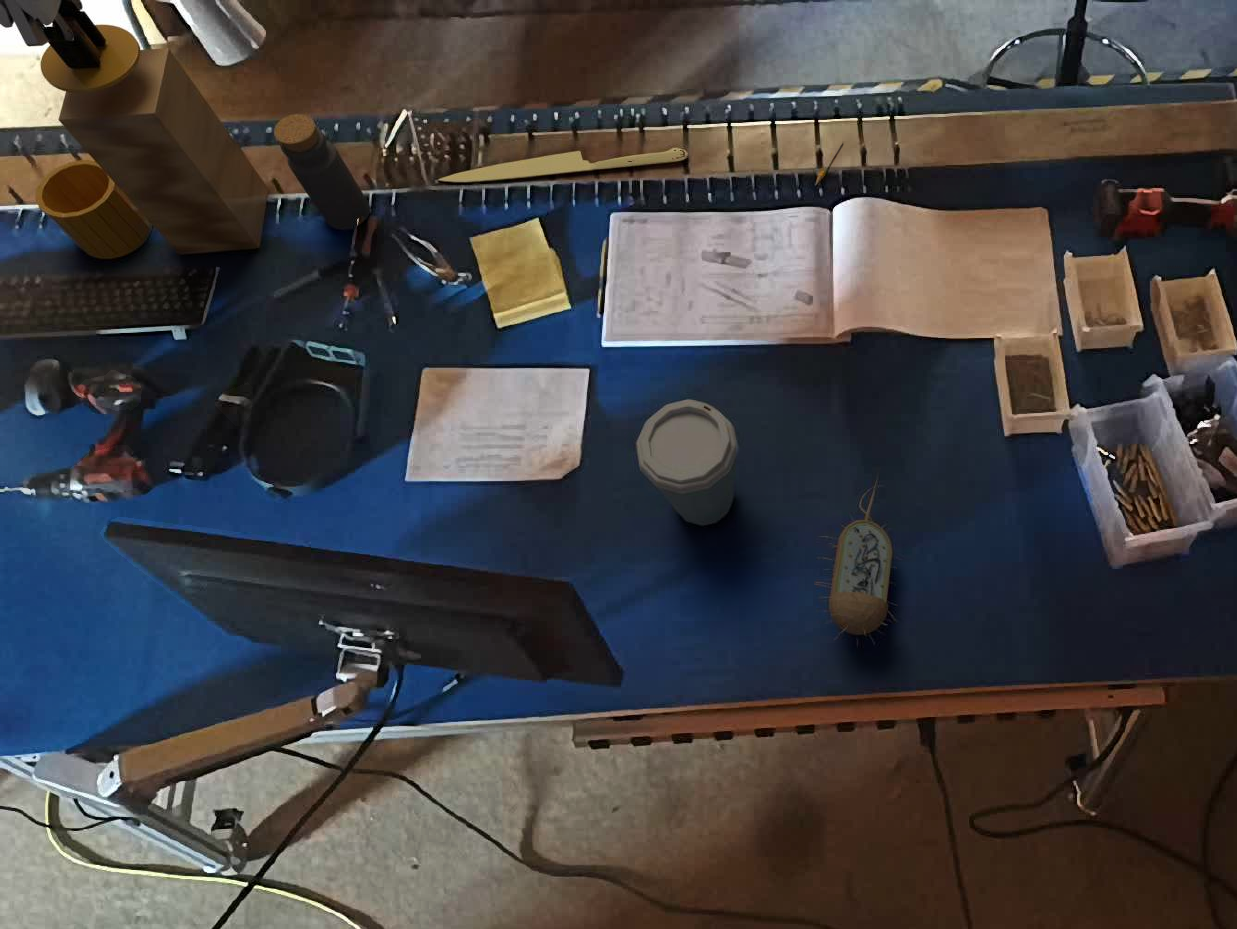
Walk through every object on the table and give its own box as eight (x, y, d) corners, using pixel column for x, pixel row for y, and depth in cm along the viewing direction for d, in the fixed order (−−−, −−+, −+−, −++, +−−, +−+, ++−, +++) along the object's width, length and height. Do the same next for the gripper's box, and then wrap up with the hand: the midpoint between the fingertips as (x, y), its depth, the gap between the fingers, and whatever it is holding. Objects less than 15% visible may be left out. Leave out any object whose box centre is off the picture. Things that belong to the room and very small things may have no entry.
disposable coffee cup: (713, 558, 120) (696, 502, 107) (637, 513, 122) (610, 451, 109) (766, 487, 124) (756, 424, 111) (691, 444, 126) (672, 377, 113)
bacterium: (893, 499, 126) (939, 470, 118) (873, 663, 118) (920, 644, 110) (815, 470, 122) (856, 438, 114) (788, 639, 113) (830, 617, 105)
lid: (23, 67, 114) (-8, 30, 110) (99, 15, 118) (72, -22, 113) (85, 106, 112) (55, 71, 108) (160, 53, 116) (135, 16, 111)
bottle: (315, 219, 139) (257, 135, 125) (345, 189, 141) (291, 103, 128) (350, 237, 138) (296, 153, 124) (380, 206, 140) (330, 121, 127)
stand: (178, 254, 136) (57, 119, 115) (190, 194, 140) (75, 53, 119) (259, 248, 137) (154, 113, 116) (268, 188, 141) (168, 47, 120)
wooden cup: (63, 237, 136) (19, 195, 129) (120, 193, 140) (81, 149, 133) (110, 270, 135) (68, 228, 127) (167, 224, 138) (130, 181, 131)
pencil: (843, 144, 148) (843, 141, 147) (818, 188, 144) (817, 184, 144) (837, 143, 148) (837, 139, 147) (812, 186, 144) (812, 182, 144)
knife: (436, 162, 143) (434, 185, 141) (685, 134, 146) (687, 155, 144) (439, 170, 144) (438, 192, 142) (686, 141, 147) (689, 163, 145)
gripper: (-60, -161, 101) (66, 5, 117) (-105, -46, 94) (35, 113, 110) (24, -164, 101) (138, 1, 118) (-14, -50, 95) (112, 108, 111)
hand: (87, 54), depth 114 cm, fingers closed on lid, 2 cm apart
